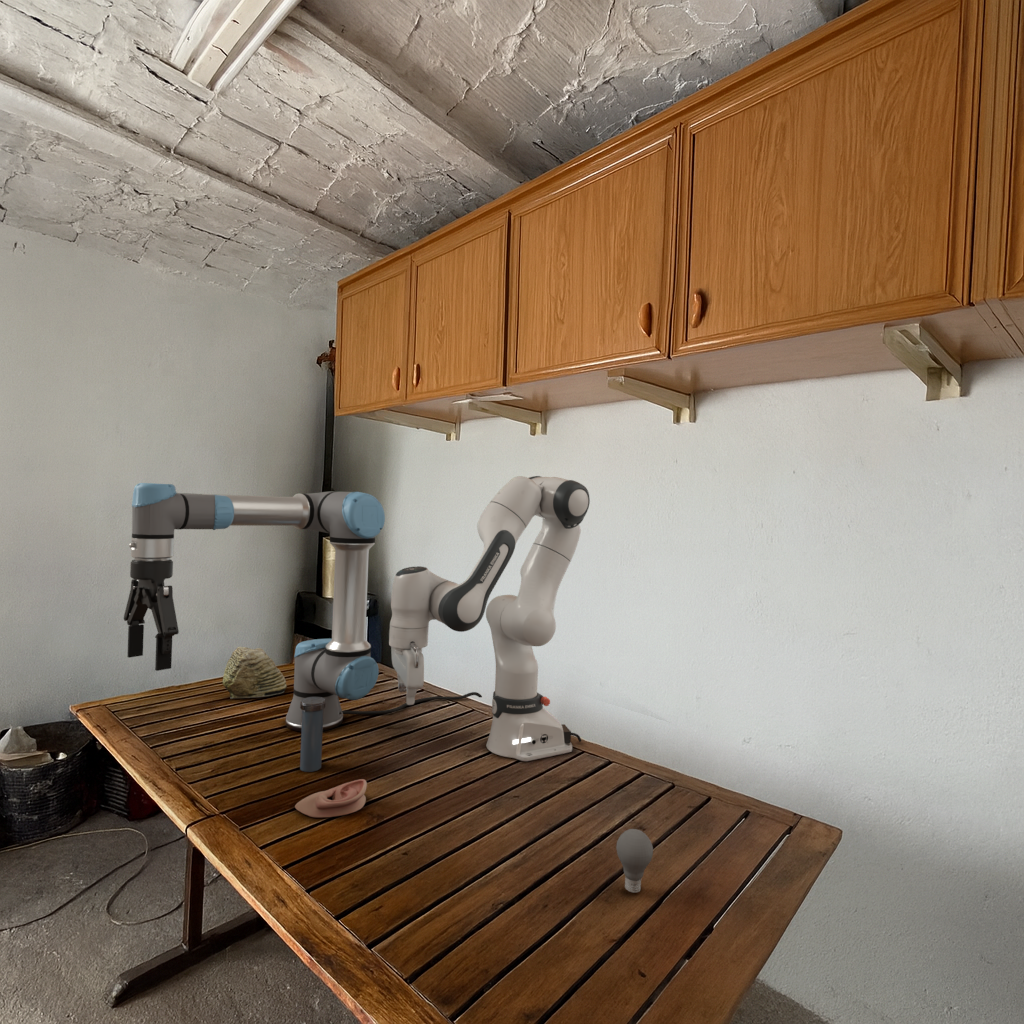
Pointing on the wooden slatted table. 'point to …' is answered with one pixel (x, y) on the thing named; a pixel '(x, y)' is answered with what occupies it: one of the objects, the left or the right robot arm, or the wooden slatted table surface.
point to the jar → (311, 740)
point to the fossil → (252, 674)
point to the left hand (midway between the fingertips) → (148, 662)
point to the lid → (312, 704)
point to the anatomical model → (335, 800)
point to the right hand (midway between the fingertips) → (405, 697)
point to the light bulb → (634, 857)
